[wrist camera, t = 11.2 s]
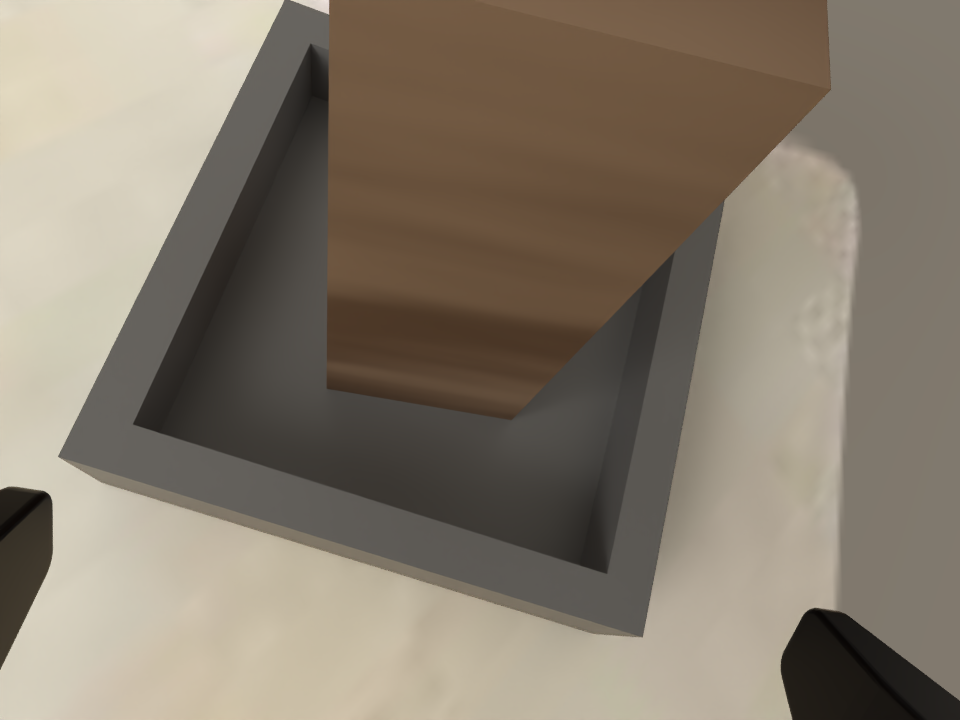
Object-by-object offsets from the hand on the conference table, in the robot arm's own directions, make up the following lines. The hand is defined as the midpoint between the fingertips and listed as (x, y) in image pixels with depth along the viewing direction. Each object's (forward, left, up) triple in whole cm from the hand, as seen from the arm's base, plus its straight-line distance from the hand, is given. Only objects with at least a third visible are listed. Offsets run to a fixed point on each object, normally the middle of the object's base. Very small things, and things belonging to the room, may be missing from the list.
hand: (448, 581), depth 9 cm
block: (+7, +1, -8) cm, 11 cm away
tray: (+7, +1, -9) cm, 11 cm away
